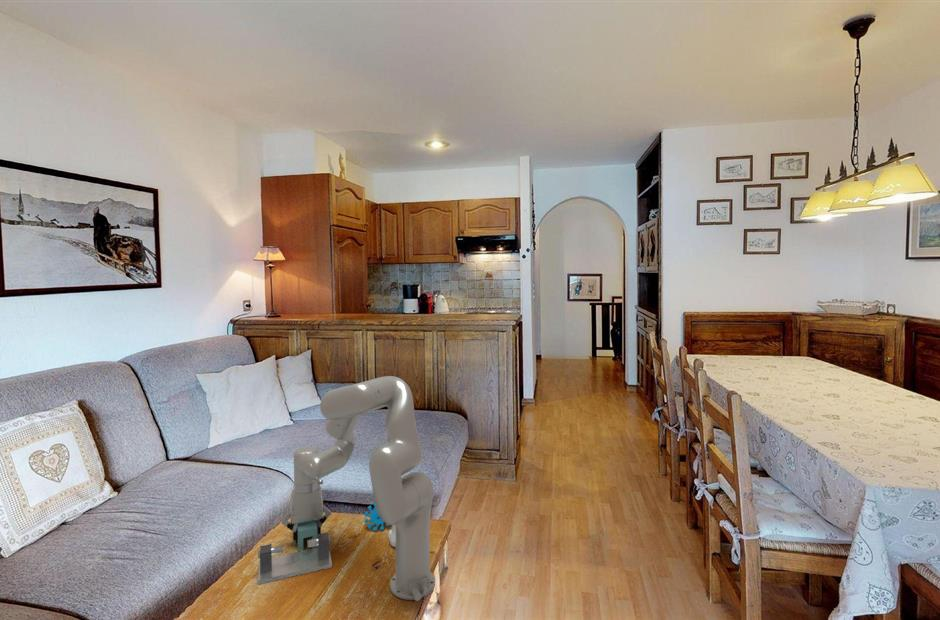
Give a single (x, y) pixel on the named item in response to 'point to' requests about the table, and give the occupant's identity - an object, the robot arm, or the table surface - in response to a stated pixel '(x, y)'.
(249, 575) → the table surface
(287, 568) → the shaft rig
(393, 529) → the seated beast figurine
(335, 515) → the table surface
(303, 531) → the teal block
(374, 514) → the blue lumpy piece
